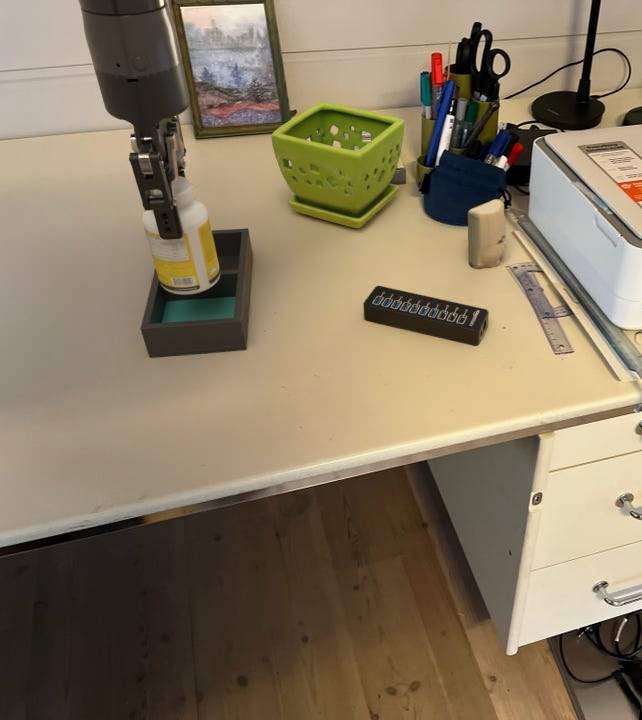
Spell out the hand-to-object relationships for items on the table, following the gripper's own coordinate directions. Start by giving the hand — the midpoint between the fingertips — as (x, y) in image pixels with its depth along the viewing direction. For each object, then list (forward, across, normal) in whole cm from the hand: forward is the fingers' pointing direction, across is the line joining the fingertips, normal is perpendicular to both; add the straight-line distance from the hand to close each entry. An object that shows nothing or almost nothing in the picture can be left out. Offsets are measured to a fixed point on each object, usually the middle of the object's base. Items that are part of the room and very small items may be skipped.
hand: (176, 219), depth 79 cm
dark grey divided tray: (+14, -5, 0) cm, 15 cm away
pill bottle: (+8, 0, 0) cm, 8 cm away
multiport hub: (+14, +2, +26) cm, 30 cm away
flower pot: (+14, -26, +18) cm, 35 cm away
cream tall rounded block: (+14, -10, +36) cm, 40 cm away
